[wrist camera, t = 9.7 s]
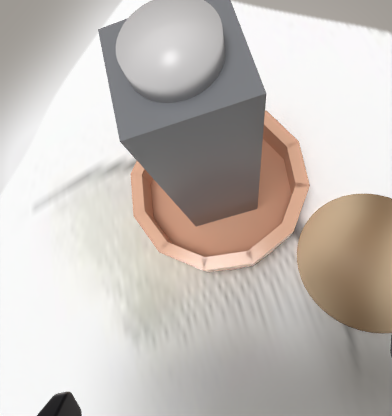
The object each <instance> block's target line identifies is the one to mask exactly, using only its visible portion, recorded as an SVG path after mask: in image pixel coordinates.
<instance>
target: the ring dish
mask: <svg viewBox="0 0 392 416" xmlns="http://www.w3.org/2000/svg"><path fill="white" fill-rule="evenodd" d="M131 185H132V200H133V214H134V217H135V219H136V220H137V222H138V223H139V224H140V226H141V227H142V229H143V230H144V231H145V233H146V234H147V236H148V237H149V238H150V240H151V241H152V243H153V244H154V245H155V247H156V248H157V250H158V251H159V252H160V253H162V254H165V255H167V256H170V257H172V258H174V259H177V260H179V261H181V262H184V263H186V264H189V265H191V266H193V267H196V268H198V269H201V270H203V271H206V272H214V271H225V270H234V269H239V268H243V267H249V266H254V265H255V264H256V263H258V262H259V261H260V260H261V259H263V258H264V257H266V256H267V255H269V254H270V253H271V252H272V251H273V250H274V249H276V248H277V247H278V246H279V245H280V244H281V243H283V242H284V241H285V240H286V239H288V238H289V237H290V236H291V234H292V233H293V232H294V229H295V226H296V223H297V220H298V217H299V215H300V212H301V209H302V206H303V203H304V200H305V197H306V195H307V192H308V189H309V186H310V185H309V181H308V177H307V173H306V169H305V165H304V161H303V157H302V153H301V149H300V145H299V141H298V140H297V139H296V138H295V137H294V136H293V135H292V134H290V133H289V132H288V131H287V130H286V129H285V128H284V127H283V126H282V125H281V124H280V123H279V122H278V121H277V120H276V119H275V118H274V117H273V116H272V115H271V114H270V113H268V112H267V111H265V116H264V129H263V142H262V155H261V168H260V181H259V194H258V207H257V209H255V210H252V211H248V212H245V213H241V214H238V215H234V216H231V217H228V218H224V219H221V220H217V221H214V222H210V223H207V224H203V225H200V226H195V225H194V224H193V223H192V222H191V221H190V219H189V218H188V217H187V216H186V215H185V214H184V213H183V212H182V210H181V209H180V208H179V207H178V206H177V205H176V204H175V203H174V201H173V200H172V199H171V198H170V197H169V196H168V195H167V194H166V192H165V191H164V190H163V189H162V188H161V187H160V186H159V185H158V183H157V182H156V181H155V180H154V179H153V178H152V177H151V176H150V175H149V173H148V172H147V171H146V170H145V169H144V168H143V167H142V166H141V164H140V163H139V162H138V161H137V162H136V164H135V166H134V168H133V170H132V172H131Z"/></svg>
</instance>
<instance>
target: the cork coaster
mask: <svg viewBox="0 0 392 416" xmlns="http://www.w3.org/2000/svg"><path fill="white" fill-rule="evenodd" d="M297 263H298V269H299V273H300V276H301V279H302V281H303V284H304V286H305V288H306V290H307V291H308V293H309V295H310V296H311V297H312V299H313V300H314V301H315V302H316V304H317V305H318V306H319V307H320V308H321V309H322V310H323V311H325V312H326V313H327V314H328V315H330V316H331V317H333V318H334V319H336V320H337V321H339V322H341V323H343V324H345V325H347V326H349V327H352V328H355V329H358V330H362V331H366V332H372V333H392V199H391V198H388V197H385V196H380V195H374V194H353V195H347V196H343V197H340V198H337V199H335V200H332V201H330V202H329V203H327V204H325V205H324V206H322V207H321V208H319V209H318V210H317V211H316V212H315V213H314V214H313V215H312V216H311V218H310V219H309V220H308V221H307V223H306V225H305V226H304V228H303V230H302V233H301V235H300V238H299V242H298V248H297Z"/></svg>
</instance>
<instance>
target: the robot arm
mask: <svg viewBox="0 0 392 416" xmlns="http://www.w3.org/2000/svg"><path fill="white" fill-rule="evenodd" d="M390 351H391V356H392V337H391V350H390ZM37 416H82V414H81V409H80V407H79V405H78V403H77V402H76V400H75V398H74V396H73V395H72V393H71V392H63V393H58V394H56V395H54V396H53V397H52V398H51V399H50V400H49V402H48V403H47V404H46V405H45V406H44V408H43V409H42V410H41V411H40V413H39V414H38V415H37Z"/></svg>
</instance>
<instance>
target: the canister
mask: <svg viewBox="0 0 392 416" xmlns="http://www.w3.org/2000/svg"><path fill="white" fill-rule="evenodd" d="M98 31H99V36H100V42H101V47H102V52H103V57H104V62H105V67H106V72H107V77H108V82H109V88H110V93H111V98H112V103H113V108H114V113H115V118H116V123H117V128H118V134H119V139H120V142H121V143H122V144H123V145H124V146H125V148H126V149H127V150H128V151H129V152H130V153H131V154H132V155H133V157H134V158H135V159H136V160H137V161H138V162H139V163H140V164H141V166H142V167H143V168H144V169H145V170H146V171H147V172H148V173H149V175H150V176H151V177H152V178H153V179H154V180H155V181H156V182H157V183H158V185H159V186H160V187H161V188H162V189H163V190H164V191H165V192H166V194H167V195H168V196H169V197H170V198H171V199H172V200H173V201H174V203H175V204H176V205H177V206H178V207H179V208H180V209H181V210H182V212H183V213H184V214H185V215H186V216H187V217H188V218H189V219H190V221H191V222H192V223H193V224H194V225H195V226H200V225H203V224H207V223H210V222H214V221H217V220H221V219H224V218H228V217H231V216H234V215H238V214H241V213H245V212H248V211H252V210H255V209H257V207H258V194H259V181H260V168H261V155H262V142H263V129H264V116H265V103H266V92H265V89H264V86H263V84H262V81H261V79H260V76H259V73H258V71H257V68H256V66H255V63H254V60H253V58H252V55H251V53H250V50H249V47H248V45H247V42H246V40H245V37H244V34H243V32H242V29H241V27H240V24H239V21H238V19H237V16H236V14H235V11H234V8H233V6H232V3H231V1H230V0H152V1H150V2H148V3H146V4H144V5H143V6H141V7H140V8H138V9H137V10H136V11H135V12H134V13H133V14H132V15H131V16H130V17H129V18H128V19H125V20H122V21H120V22H117V23H114V24H112V25H109V26H106V27H104V28H101V29H98Z"/></svg>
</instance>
